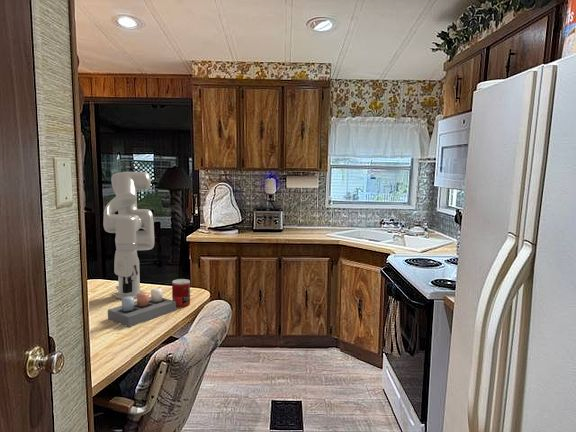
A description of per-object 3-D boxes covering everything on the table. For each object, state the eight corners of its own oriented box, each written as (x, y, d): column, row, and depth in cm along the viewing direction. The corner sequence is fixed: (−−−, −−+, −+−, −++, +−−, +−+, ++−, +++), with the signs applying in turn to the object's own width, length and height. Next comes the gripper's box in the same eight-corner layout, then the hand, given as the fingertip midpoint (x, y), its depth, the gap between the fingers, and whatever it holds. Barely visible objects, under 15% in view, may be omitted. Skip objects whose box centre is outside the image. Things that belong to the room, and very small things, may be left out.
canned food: (185, 308, 170) (185, 284, 169) (169, 306, 171) (168, 282, 170) (193, 302, 177) (193, 279, 176) (177, 301, 179) (177, 278, 178)
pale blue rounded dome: (119, 309, 154) (119, 298, 154) (129, 306, 158) (129, 295, 157) (126, 311, 152) (126, 300, 151) (136, 308, 155) (136, 297, 155)
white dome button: (149, 300, 166) (148, 290, 165) (157, 297, 170) (157, 287, 169) (155, 302, 163) (155, 292, 163) (164, 299, 167) (164, 289, 167)
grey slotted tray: (107, 319, 155) (107, 309, 155) (155, 304, 174) (155, 295, 174) (128, 327, 148) (128, 317, 147) (176, 310, 167) (175, 301, 166)
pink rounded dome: (134, 304, 160) (134, 294, 159) (144, 301, 164) (144, 291, 163) (141, 306, 157) (141, 296, 157) (151, 303, 161) (150, 293, 161)
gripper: (106, 246, 153) (108, 291, 154) (129, 250, 145) (130, 297, 146) (123, 244, 159) (124, 287, 161) (146, 247, 151) (147, 293, 153)
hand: (127, 292), depth 153 cm, fingers closed
